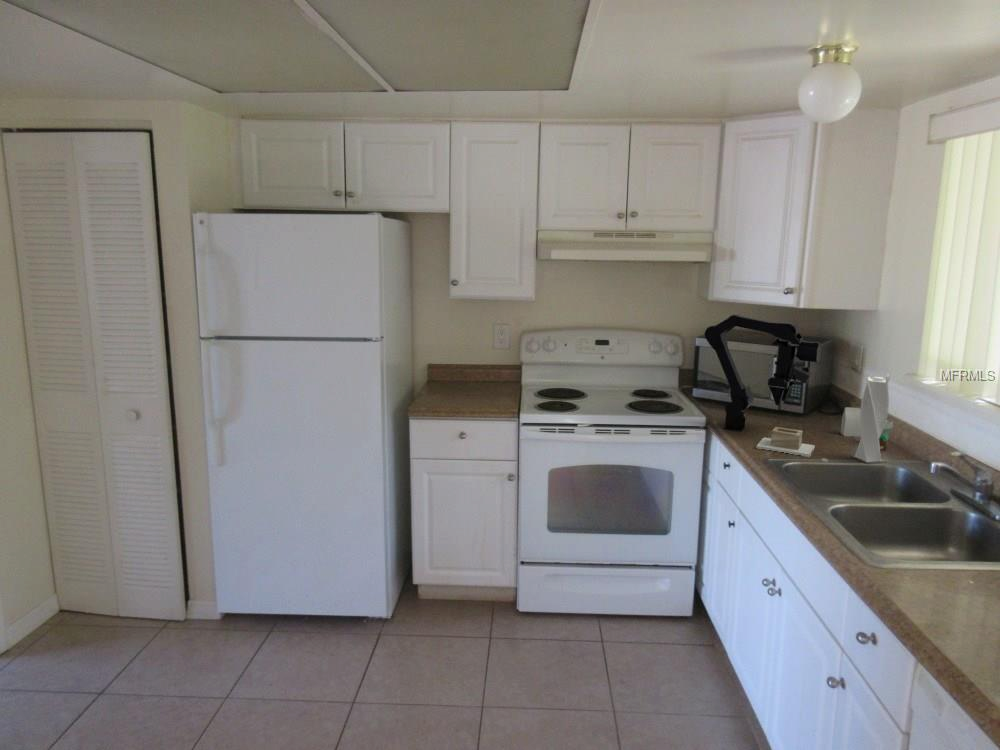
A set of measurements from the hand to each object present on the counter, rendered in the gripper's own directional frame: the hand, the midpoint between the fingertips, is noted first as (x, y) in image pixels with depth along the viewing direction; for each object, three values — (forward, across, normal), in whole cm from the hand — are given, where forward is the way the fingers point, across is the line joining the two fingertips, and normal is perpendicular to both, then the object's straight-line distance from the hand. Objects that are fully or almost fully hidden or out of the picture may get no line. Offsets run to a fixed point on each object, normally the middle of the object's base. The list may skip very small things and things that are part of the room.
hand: (780, 402), depth 231 cm
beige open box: (+11, -15, -6) cm, 19 cm away
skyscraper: (+12, -12, -30) cm, 34 cm away
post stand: (+12, -15, -6) cm, 20 cm away
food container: (+12, +6, -31) cm, 34 cm away
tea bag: (+12, +18, -22) cm, 30 cm away
